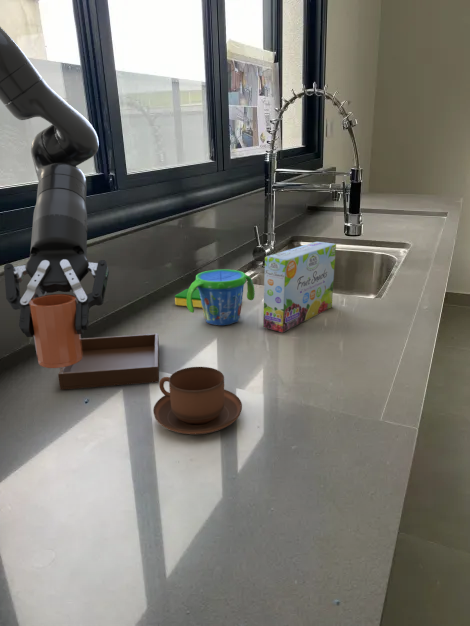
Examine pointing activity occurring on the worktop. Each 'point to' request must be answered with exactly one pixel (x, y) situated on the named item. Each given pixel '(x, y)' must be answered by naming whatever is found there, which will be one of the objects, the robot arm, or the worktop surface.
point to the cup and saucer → (196, 402)
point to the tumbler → (55, 330)
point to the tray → (114, 362)
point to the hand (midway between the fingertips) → (54, 332)
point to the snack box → (298, 285)
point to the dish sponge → (182, 298)
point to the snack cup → (221, 295)
